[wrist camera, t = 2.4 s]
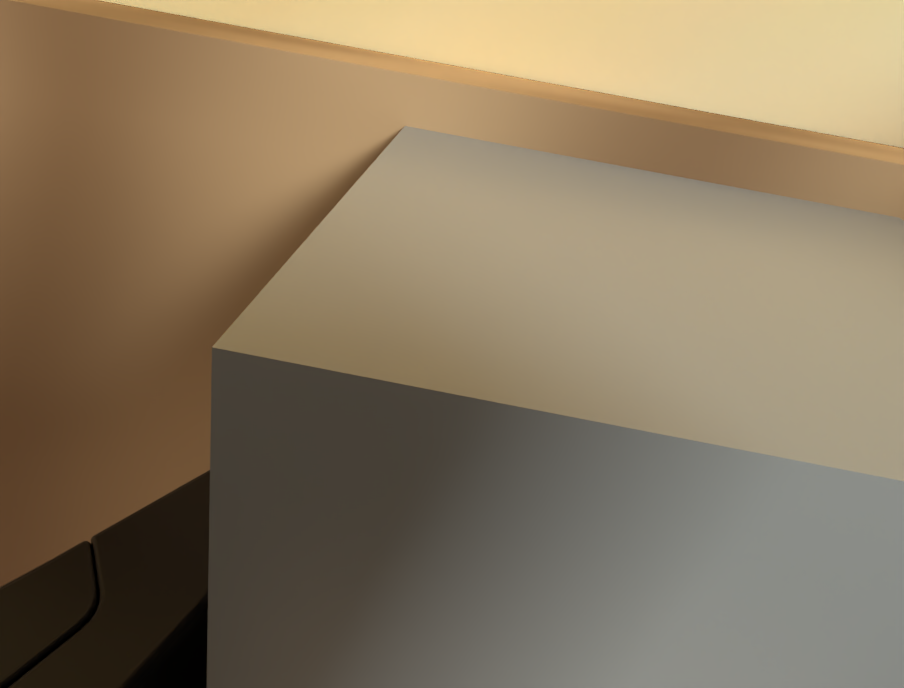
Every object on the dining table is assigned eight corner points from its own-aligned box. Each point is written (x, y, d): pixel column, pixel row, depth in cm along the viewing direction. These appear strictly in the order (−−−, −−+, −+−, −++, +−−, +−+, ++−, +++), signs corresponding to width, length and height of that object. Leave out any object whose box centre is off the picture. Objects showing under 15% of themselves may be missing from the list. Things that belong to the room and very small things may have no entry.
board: (917, 150, 8) (972, 177, 7) (520, 1052, 18) (519, 1119, 17) (-798, -165, 9) (-982, -183, 8) (-272, 883, 19) (-321, 938, 18)
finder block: (899, 217, 7) (1539, 662, 3) (687, 690, 11) (808, 1283, 6) (405, 126, 8) (167, 395, 3) (341, 620, 11) (180, 1144, 6)
